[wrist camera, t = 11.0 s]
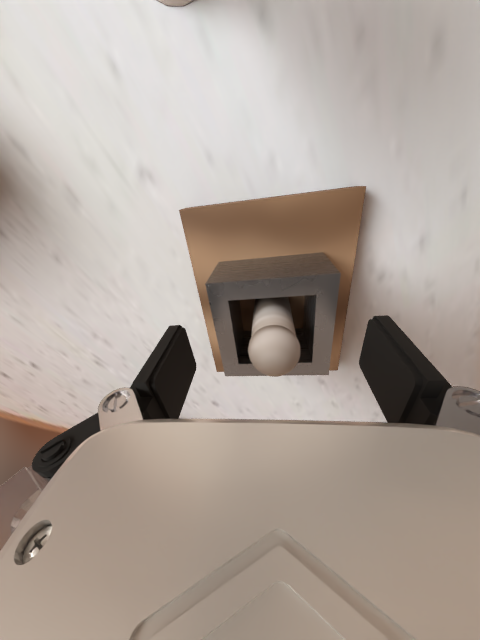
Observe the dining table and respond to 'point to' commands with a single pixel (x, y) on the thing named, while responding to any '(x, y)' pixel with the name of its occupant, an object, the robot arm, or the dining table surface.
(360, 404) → the dining table surface
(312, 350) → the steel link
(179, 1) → the chalice
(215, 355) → the brown flat pegged piece
